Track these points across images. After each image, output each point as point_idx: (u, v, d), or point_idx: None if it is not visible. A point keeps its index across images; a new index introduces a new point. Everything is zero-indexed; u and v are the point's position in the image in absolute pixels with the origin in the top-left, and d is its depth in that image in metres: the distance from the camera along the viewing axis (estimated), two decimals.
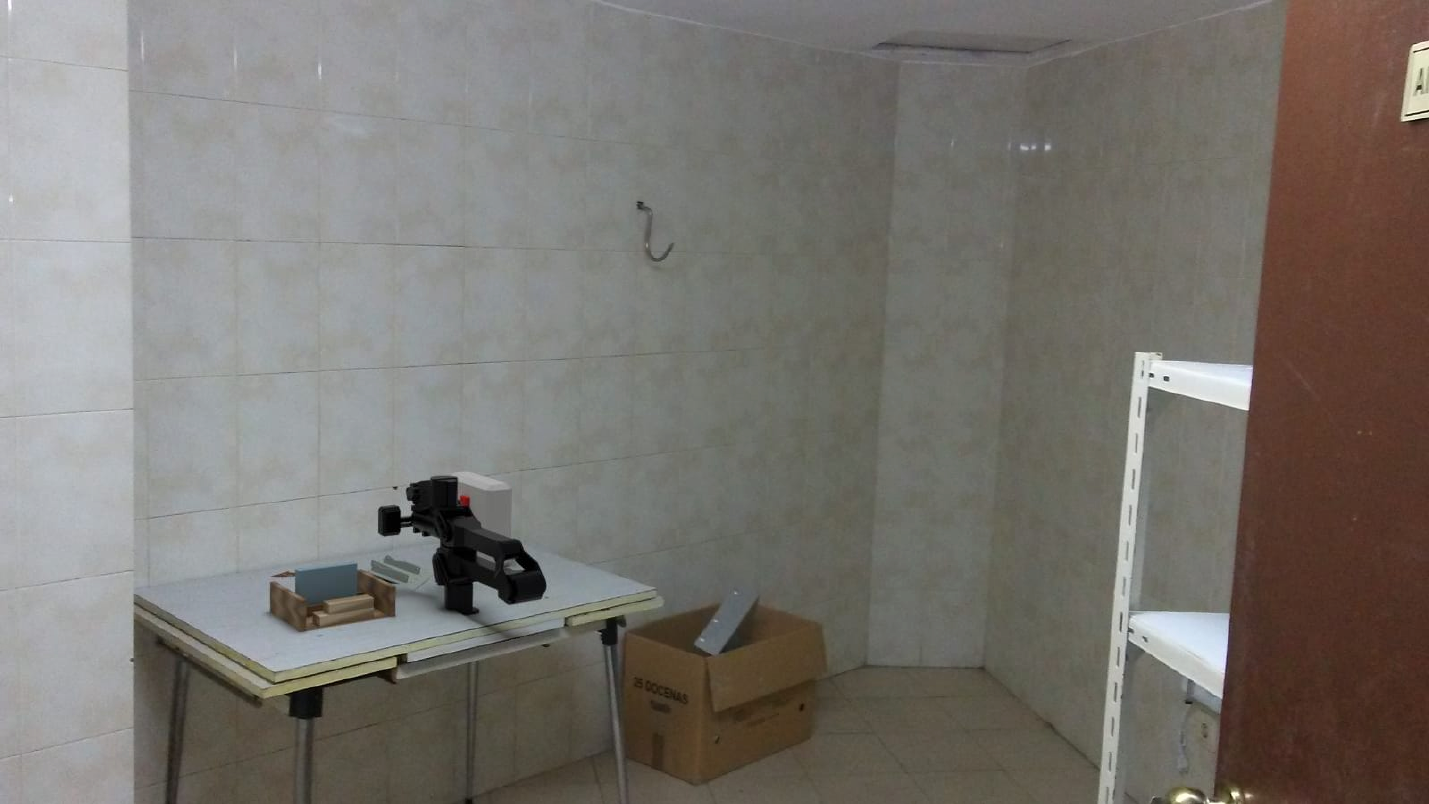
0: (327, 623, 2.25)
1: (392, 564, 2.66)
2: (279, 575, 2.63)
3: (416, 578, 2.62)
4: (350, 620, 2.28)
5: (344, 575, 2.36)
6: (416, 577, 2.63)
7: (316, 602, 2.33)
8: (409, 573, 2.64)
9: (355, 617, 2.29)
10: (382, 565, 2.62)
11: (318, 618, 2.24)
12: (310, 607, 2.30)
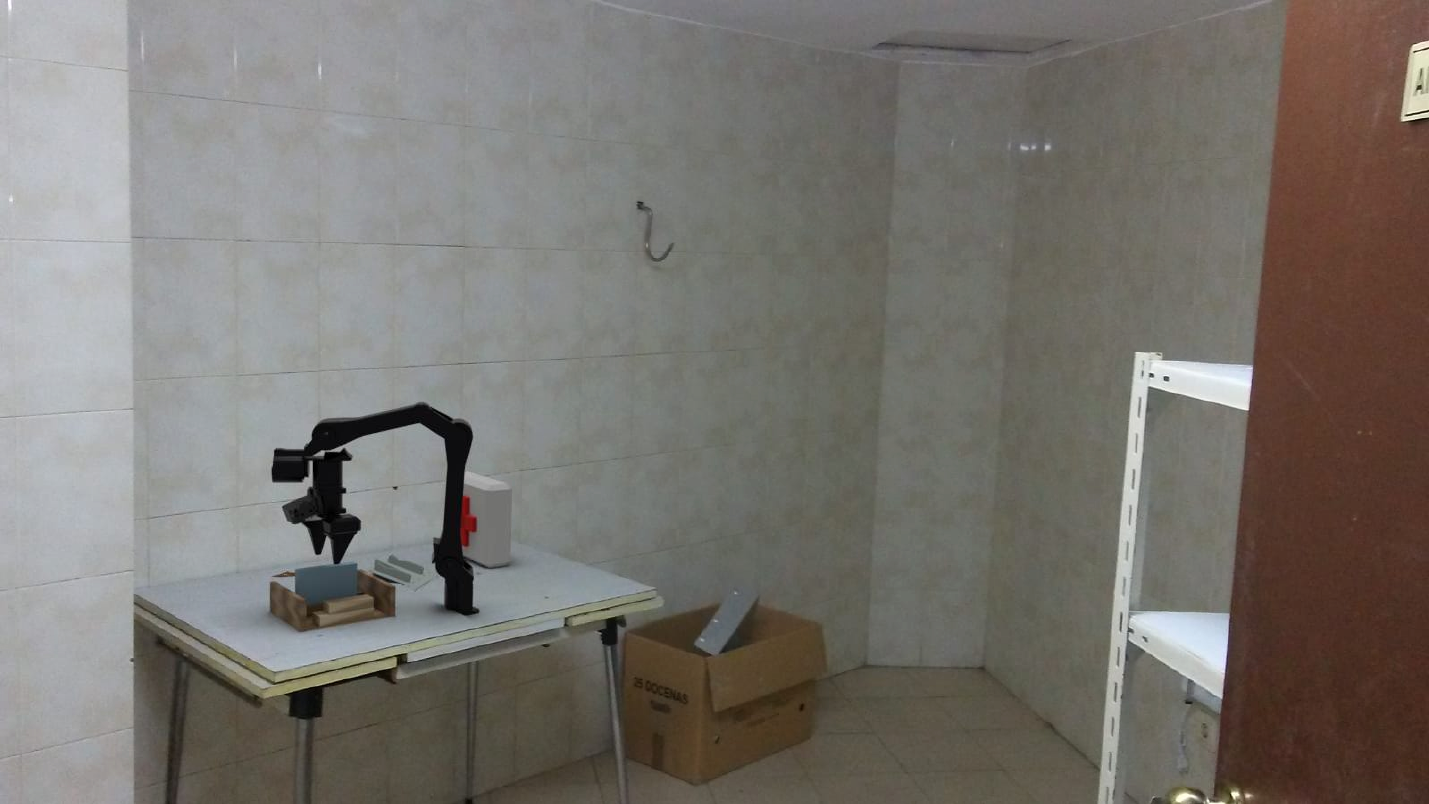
0: (327, 623, 2.25)
1: (396, 564, 2.66)
2: (279, 575, 2.63)
3: (419, 578, 2.62)
4: (350, 620, 2.28)
5: (344, 575, 2.36)
6: (419, 577, 2.63)
7: (316, 602, 2.33)
8: (412, 573, 2.65)
9: (355, 617, 2.29)
10: (385, 565, 2.63)
11: (318, 618, 2.24)
12: (310, 607, 2.30)
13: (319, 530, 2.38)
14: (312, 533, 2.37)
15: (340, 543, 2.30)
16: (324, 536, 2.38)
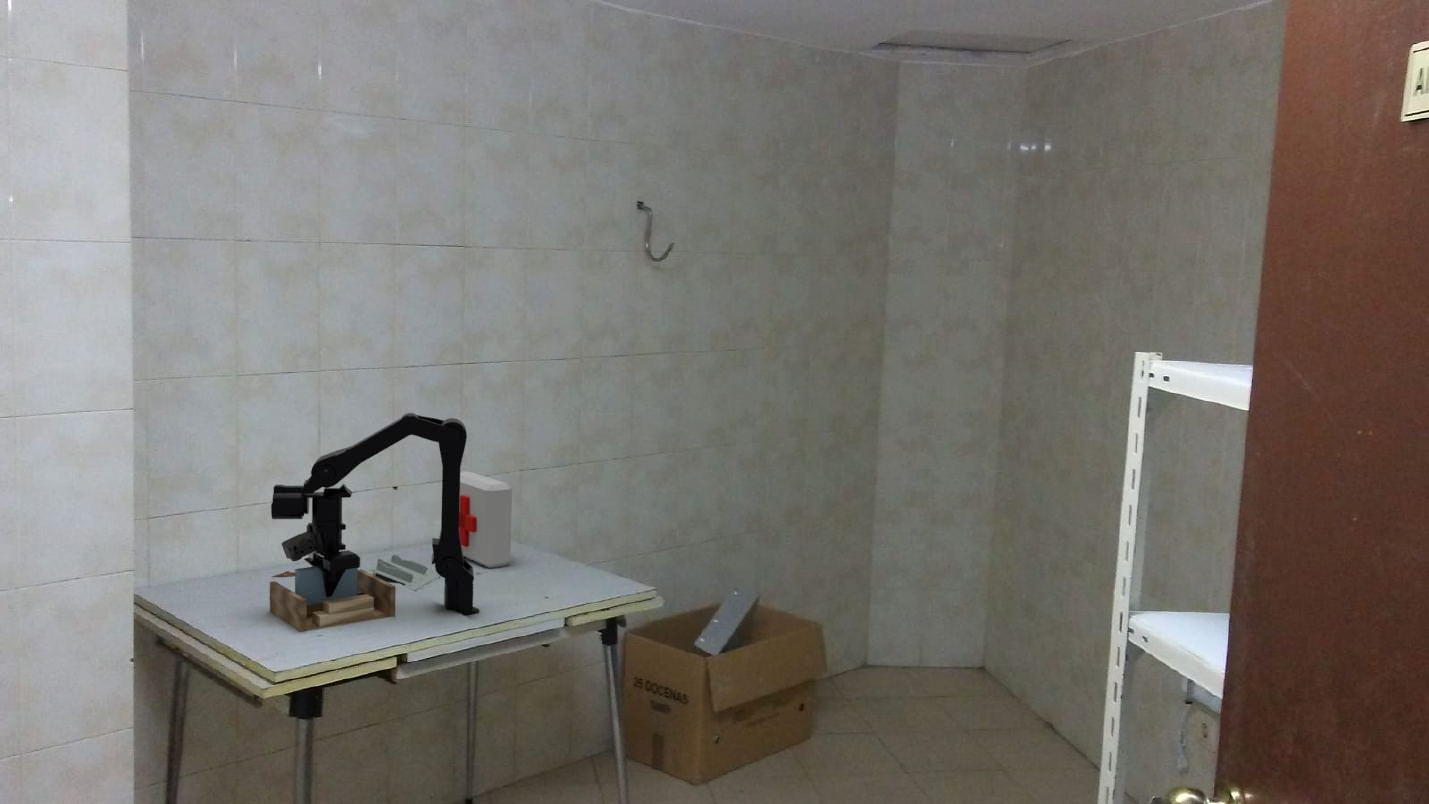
0: (327, 623, 2.25)
1: (399, 563, 2.66)
2: (279, 575, 2.63)
3: (421, 578, 2.63)
4: (350, 620, 2.28)
5: (344, 575, 2.36)
6: (421, 577, 2.63)
7: (316, 602, 2.33)
8: (415, 573, 2.65)
9: (355, 617, 2.29)
10: (388, 564, 2.63)
11: (318, 618, 2.24)
12: (310, 607, 2.30)
13: None
14: None
15: (332, 576, 2.33)
16: None
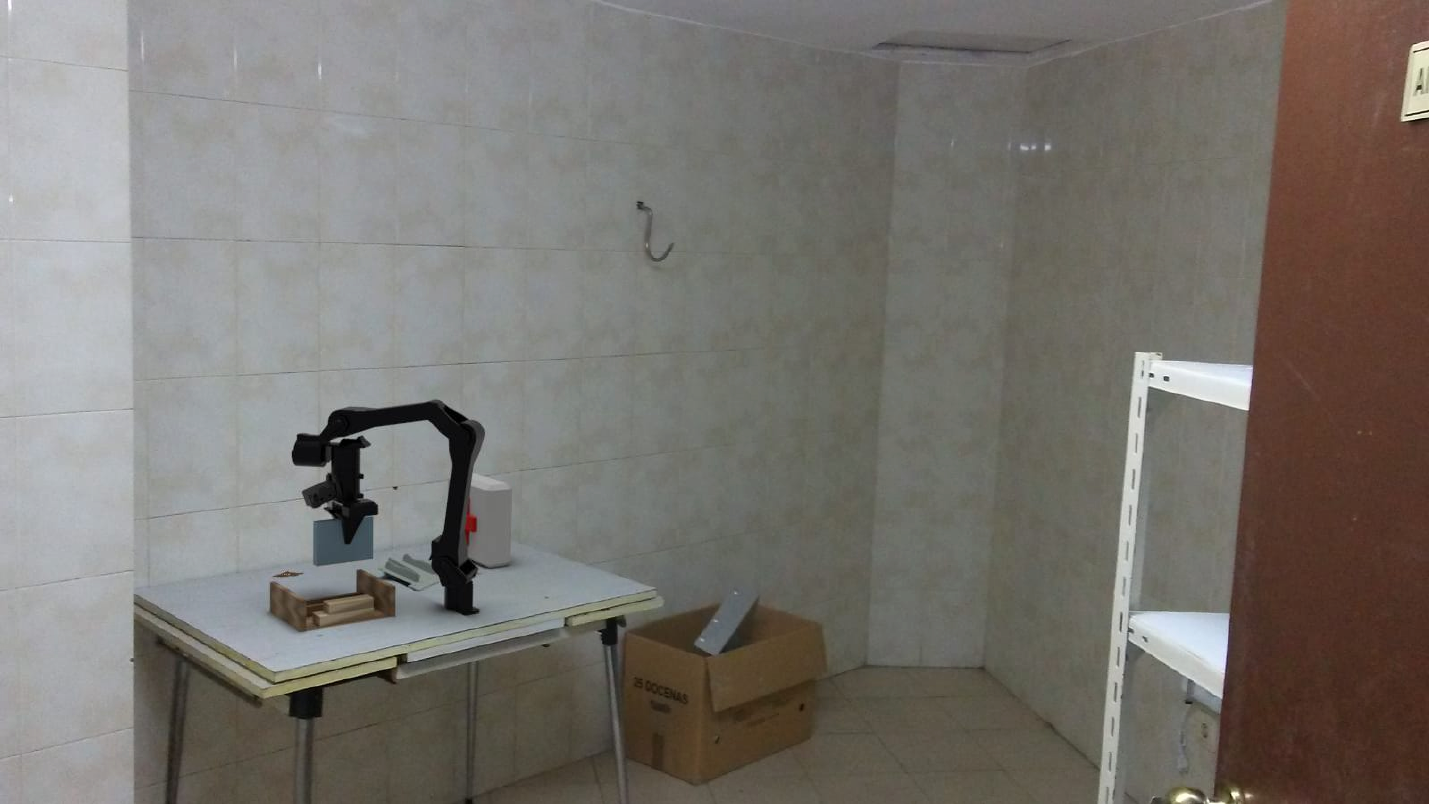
0: (327, 623, 2.25)
1: (410, 563, 2.67)
2: (280, 575, 2.63)
3: (429, 578, 2.63)
4: (350, 620, 2.28)
5: (361, 528, 2.42)
6: (430, 577, 2.64)
7: (334, 553, 2.39)
8: (425, 572, 2.65)
9: (355, 617, 2.29)
10: (398, 563, 2.64)
11: (318, 618, 2.24)
12: (310, 607, 2.30)
13: None
14: None
15: (351, 524, 2.40)
16: None
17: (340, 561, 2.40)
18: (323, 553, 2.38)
